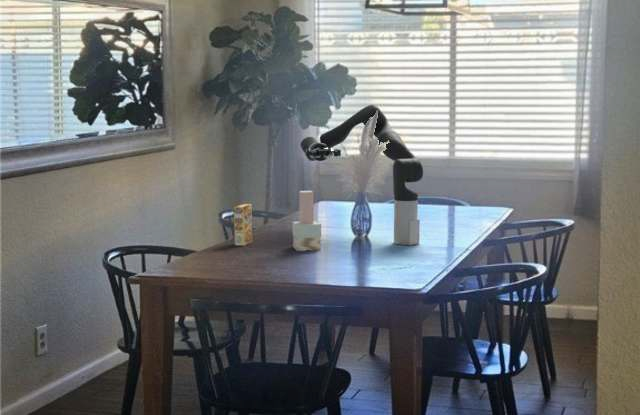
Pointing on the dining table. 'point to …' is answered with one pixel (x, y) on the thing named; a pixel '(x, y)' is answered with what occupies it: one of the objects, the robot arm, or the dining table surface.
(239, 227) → the candy box
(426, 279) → the dining table surface
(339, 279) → the dining table surface
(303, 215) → the pillar block
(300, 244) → the tower base
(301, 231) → the tower top
